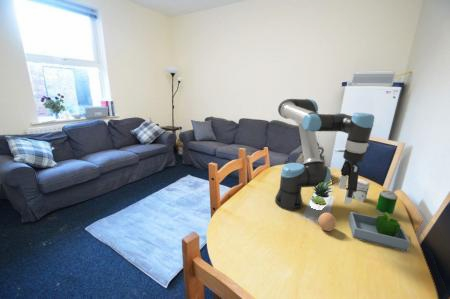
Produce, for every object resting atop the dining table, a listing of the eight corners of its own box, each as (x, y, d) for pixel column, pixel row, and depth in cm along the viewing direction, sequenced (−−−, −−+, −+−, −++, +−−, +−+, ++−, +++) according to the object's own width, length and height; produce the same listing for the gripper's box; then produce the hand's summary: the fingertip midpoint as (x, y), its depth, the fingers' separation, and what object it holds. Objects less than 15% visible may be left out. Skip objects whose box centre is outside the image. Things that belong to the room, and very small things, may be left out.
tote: (352, 237, 93) (355, 228, 92) (348, 219, 106) (350, 211, 105) (407, 251, 86) (410, 242, 85) (395, 230, 99) (398, 222, 97)
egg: (336, 235, 94) (339, 219, 92) (319, 233, 96) (322, 217, 93) (331, 225, 101) (334, 210, 99) (315, 223, 102) (318, 208, 100)
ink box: (347, 196, 130) (351, 179, 126) (350, 194, 133) (354, 177, 129) (363, 202, 123) (367, 184, 120) (366, 199, 126) (370, 182, 123)
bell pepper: (398, 243, 90) (405, 223, 87) (376, 237, 93) (381, 217, 90) (392, 231, 97) (398, 212, 94) (372, 226, 100) (376, 208, 97)
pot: (320, 182, 148) (325, 149, 141) (291, 175, 159) (295, 143, 152) (324, 173, 165) (330, 143, 158) (298, 167, 175) (302, 138, 168)
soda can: (395, 217, 109) (401, 197, 106) (379, 215, 111) (385, 195, 107) (387, 209, 116) (393, 190, 113) (372, 208, 118) (377, 188, 114)
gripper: (374, 162, 74) (360, 212, 81) (358, 143, 97) (348, 184, 103) (351, 159, 77) (339, 208, 83) (340, 141, 99) (331, 181, 106)
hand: (344, 195), depth 93 cm, fingers open, 13 cm apart
